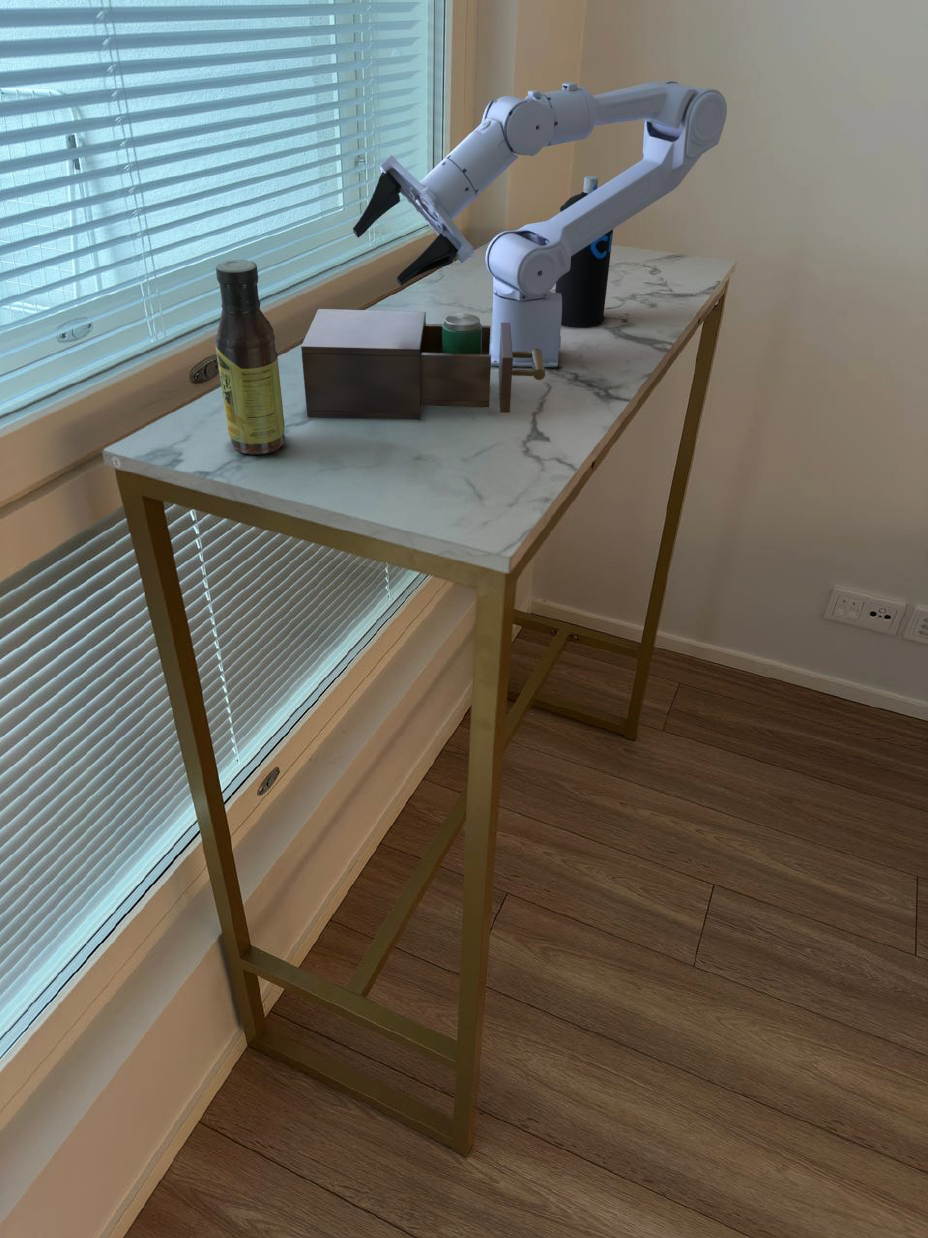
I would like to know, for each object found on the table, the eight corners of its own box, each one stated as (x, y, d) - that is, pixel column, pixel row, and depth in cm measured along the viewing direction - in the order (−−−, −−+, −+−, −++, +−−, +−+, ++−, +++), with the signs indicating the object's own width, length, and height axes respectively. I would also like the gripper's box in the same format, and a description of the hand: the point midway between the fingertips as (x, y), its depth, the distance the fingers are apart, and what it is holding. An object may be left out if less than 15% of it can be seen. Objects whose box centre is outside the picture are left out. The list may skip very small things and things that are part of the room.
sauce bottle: (233, 433, 104) (208, 253, 92) (288, 433, 105) (270, 254, 93) (226, 459, 99) (199, 272, 87) (284, 458, 99) (264, 272, 88)
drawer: (538, 375, 118) (542, 323, 114) (544, 414, 108) (548, 358, 104) (412, 371, 118) (411, 319, 114) (405, 410, 108) (404, 354, 104)
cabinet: (426, 376, 119) (425, 311, 114) (420, 419, 108) (419, 349, 103) (323, 374, 119) (318, 308, 114) (307, 416, 108) (300, 346, 103)
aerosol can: (544, 323, 138) (555, 179, 126) (560, 307, 144) (571, 169, 132) (596, 330, 135) (612, 185, 123) (610, 314, 142) (627, 174, 130)
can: (480, 376, 115) (482, 312, 110) (480, 391, 111) (482, 326, 106) (442, 375, 115) (442, 311, 110) (441, 390, 111) (441, 325, 106)
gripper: (417, 116, 104) (331, 199, 105) (502, 214, 105) (417, 295, 106) (419, 142, 111) (338, 219, 112) (498, 233, 112) (418, 309, 113)
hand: (377, 257), depth 109 cm, fingers open, 7 cm apart
